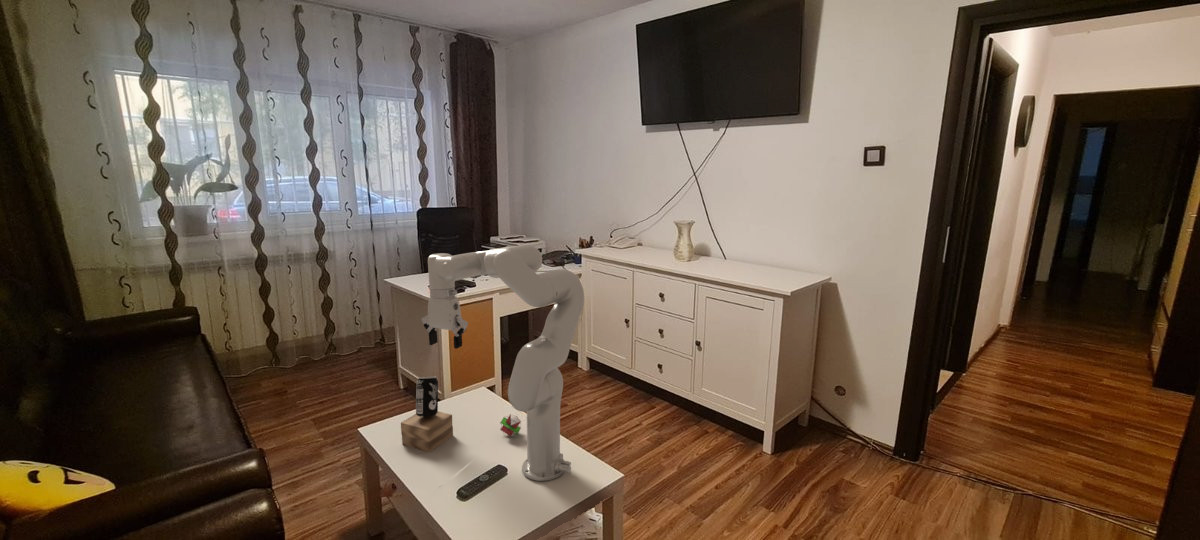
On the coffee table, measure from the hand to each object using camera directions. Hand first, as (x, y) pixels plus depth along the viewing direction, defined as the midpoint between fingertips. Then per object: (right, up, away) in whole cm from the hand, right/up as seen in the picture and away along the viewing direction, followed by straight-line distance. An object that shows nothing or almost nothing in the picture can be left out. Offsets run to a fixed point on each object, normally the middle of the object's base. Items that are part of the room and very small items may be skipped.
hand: (445, 345), depth 162 cm
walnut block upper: (-6, -27, +1) cm, 28 cm away
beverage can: (-6, -23, 0) cm, 23 cm away
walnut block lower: (-6, -31, +2) cm, 32 cm away
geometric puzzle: (+20, -31, +5) cm, 37 cm away
